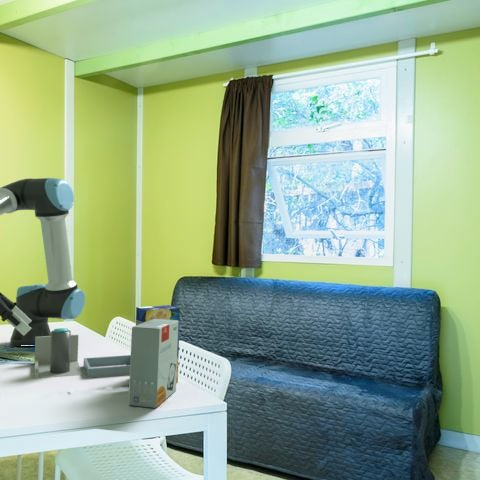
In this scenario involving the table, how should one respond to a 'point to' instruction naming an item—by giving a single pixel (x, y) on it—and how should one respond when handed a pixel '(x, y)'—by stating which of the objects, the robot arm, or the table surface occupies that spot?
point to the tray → (107, 370)
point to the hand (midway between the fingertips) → (28, 328)
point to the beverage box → (159, 313)
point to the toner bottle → (60, 351)
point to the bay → (44, 358)
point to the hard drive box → (153, 362)
